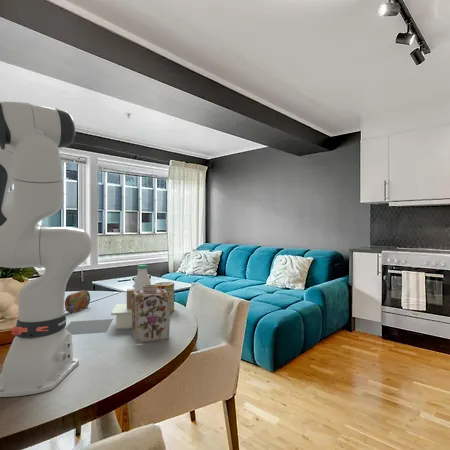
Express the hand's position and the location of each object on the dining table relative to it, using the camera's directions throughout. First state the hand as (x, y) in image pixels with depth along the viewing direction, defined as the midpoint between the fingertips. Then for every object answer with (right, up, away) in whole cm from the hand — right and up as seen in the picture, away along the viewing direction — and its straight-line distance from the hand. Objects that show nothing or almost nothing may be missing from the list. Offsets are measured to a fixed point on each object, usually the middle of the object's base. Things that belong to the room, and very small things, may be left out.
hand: (58, 256), depth 121 cm
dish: (+26, -27, +4) cm, 38 cm away
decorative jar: (+37, -28, -8) cm, 46 cm away
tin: (-5, -27, +26) cm, 38 cm away
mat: (+10, -27, +1) cm, 29 cm away
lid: (+26, -21, +4) cm, 34 cm away
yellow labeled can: (+35, -27, +26) cm, 51 cm away
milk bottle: (+24, -27, +31) cm, 47 cm away
